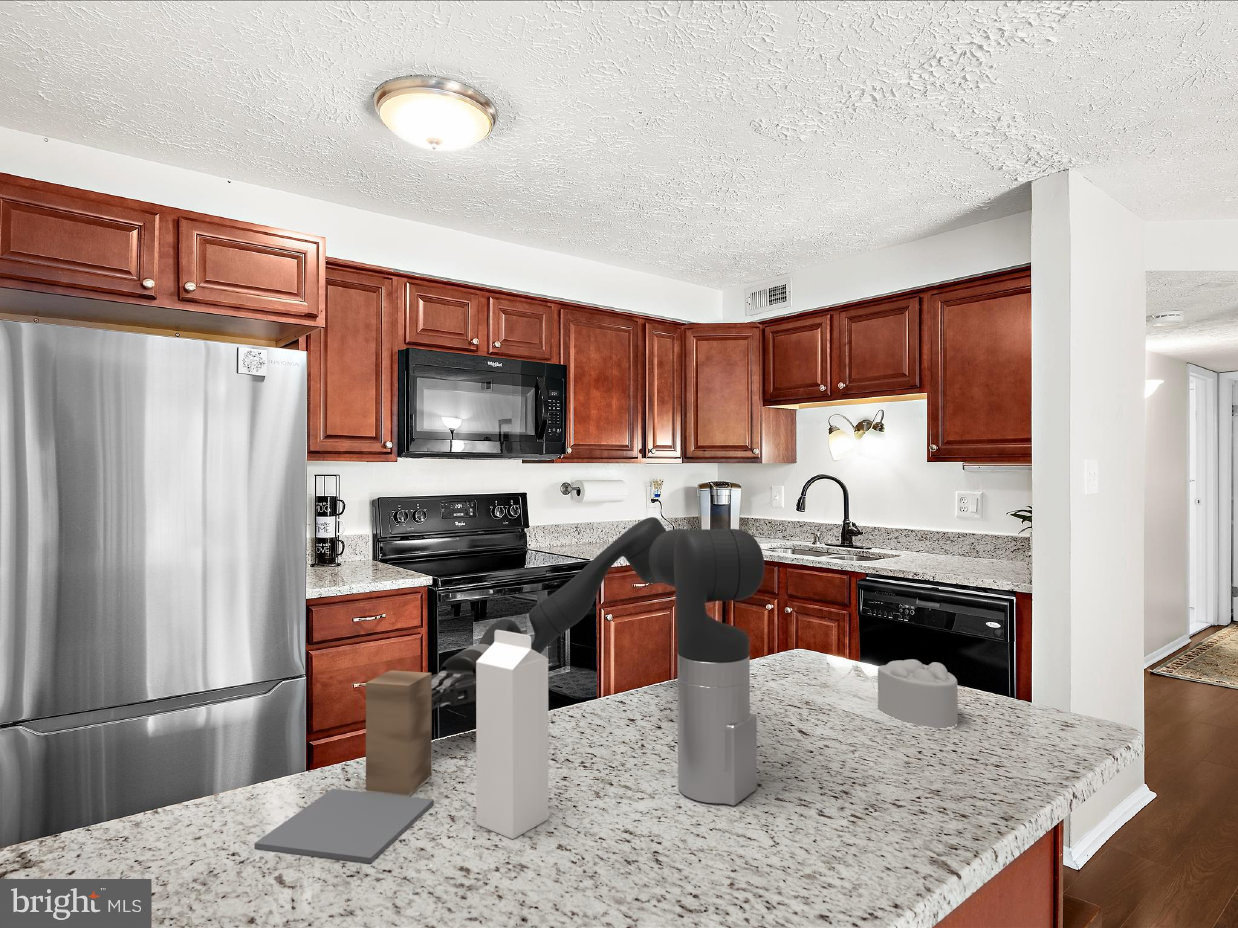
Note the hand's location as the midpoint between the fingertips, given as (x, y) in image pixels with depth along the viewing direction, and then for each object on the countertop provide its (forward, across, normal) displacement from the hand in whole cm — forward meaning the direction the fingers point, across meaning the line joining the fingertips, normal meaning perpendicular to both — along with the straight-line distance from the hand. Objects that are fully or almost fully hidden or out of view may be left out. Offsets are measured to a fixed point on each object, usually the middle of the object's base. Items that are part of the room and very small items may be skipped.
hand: (420, 705), depth 101 cm
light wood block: (+6, 0, -8) cm, 10 cm away
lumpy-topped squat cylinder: (-37, -71, -10) cm, 81 cm away
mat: (+17, 0, -8) cm, 19 cm away
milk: (+12, -18, -9) cm, 24 cm away
